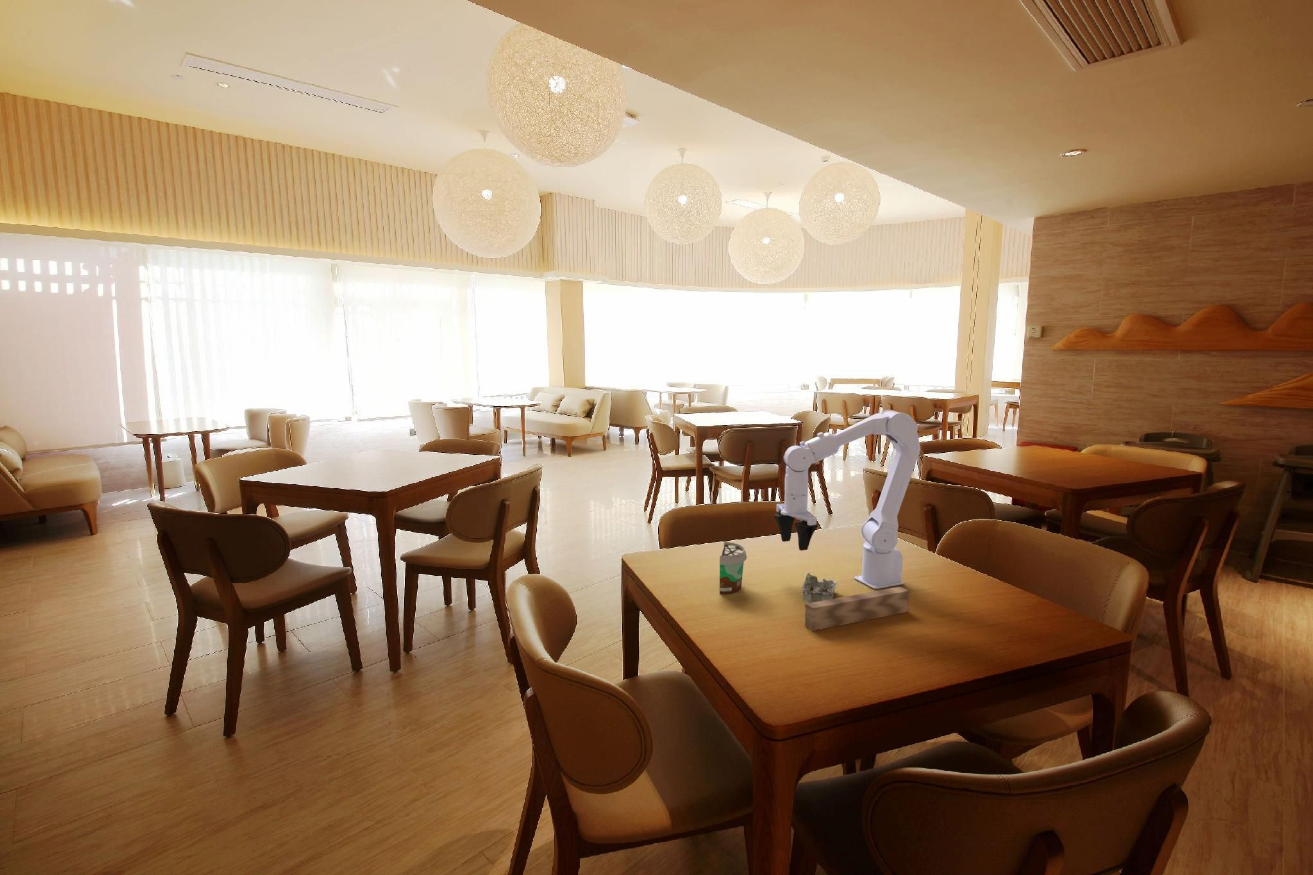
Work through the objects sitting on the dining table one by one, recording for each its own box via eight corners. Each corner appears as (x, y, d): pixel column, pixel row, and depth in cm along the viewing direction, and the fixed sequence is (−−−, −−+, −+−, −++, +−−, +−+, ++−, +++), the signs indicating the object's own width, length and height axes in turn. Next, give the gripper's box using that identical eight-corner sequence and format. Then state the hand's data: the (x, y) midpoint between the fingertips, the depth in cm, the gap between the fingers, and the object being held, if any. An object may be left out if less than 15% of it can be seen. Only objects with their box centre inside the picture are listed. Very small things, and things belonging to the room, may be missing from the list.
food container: (744, 598, 141) (745, 558, 139) (718, 596, 142) (719, 556, 140) (747, 579, 153) (748, 542, 151) (723, 577, 154) (724, 540, 152)
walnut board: (899, 607, 136) (900, 586, 135) (907, 611, 133) (909, 590, 133) (804, 625, 126) (805, 603, 126) (812, 630, 124) (812, 608, 123)
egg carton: (807, 586, 149) (807, 571, 148) (837, 591, 146) (838, 575, 145) (798, 602, 139) (799, 585, 139) (831, 607, 136) (832, 590, 135)
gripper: (767, 488, 154) (765, 539, 156) (800, 501, 141) (798, 555, 143) (789, 486, 157) (788, 536, 159) (824, 498, 143) (822, 552, 145)
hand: (794, 545), depth 151 cm, fingers open, 7 cm apart
